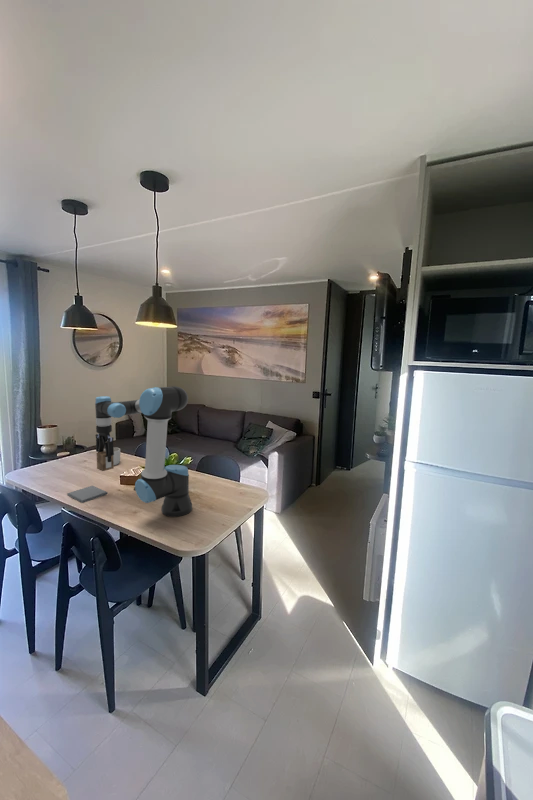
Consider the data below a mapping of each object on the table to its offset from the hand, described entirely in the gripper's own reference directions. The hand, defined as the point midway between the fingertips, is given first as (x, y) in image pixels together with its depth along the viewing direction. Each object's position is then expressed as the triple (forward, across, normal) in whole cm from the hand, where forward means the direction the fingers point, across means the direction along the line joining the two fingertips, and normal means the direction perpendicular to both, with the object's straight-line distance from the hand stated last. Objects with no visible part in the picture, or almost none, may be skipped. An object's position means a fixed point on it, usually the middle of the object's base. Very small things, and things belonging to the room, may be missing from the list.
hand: (105, 466), depth 176 cm
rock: (+18, -4, -19) cm, 26 cm away
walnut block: (+1, 0, 0) cm, 1 cm away
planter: (+18, +48, -32) cm, 60 cm away
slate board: (+18, +10, +5) cm, 21 cm away
